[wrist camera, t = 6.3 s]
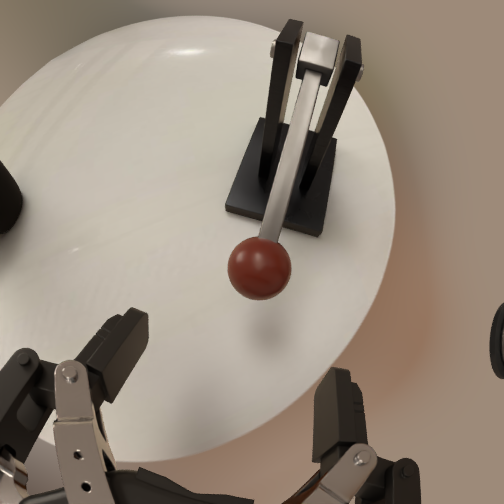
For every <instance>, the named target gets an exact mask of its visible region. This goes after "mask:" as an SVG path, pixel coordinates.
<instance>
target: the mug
mask: <svg viewBox="0 0 504 504" xmlns="http://www.w3.org/2000/svg"><path fill="white" fill-rule="evenodd" d="M21 206H22V195H21V192H20V189H19V187H18V185H17V183H16V182H15V180H14V178H13V177H12V176H11V174H10V173H9V171H8V170H7V169H6V167H5V166H4V165H3V163H2V162H1V161H0V234H3V233H5V232H7V231H8V230H9V229H10V228H11V227H12V226H13V224H14V223H15V221H16V220H17V218H18V216H19V213H20V210H21Z"/></svg>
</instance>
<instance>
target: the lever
mask: <svg viewBox="0 0 504 504" xmlns="http://www.w3.org/2000/svg"><path fill="white" fill-rule="evenodd" d="M338 47H339V40H336V39H332V38H329V37H326V36H322V35H319V34H315V33H311V32H307V33H306V35H305V38H304V42H303V45H302V48H301V51H300V55H299V58H298V63H297V70H296V76H295V77H296V78H297V79H301V80H302V83H301V87H300V90H299V94H298V97H297V101H296V104H295V108H294V112H293V115H292V119H291V122H290V126H289V129H288V133H287V136H286V140H285V144H284V147H283V151H282V154H281V158H280V161H279V165H278V168H277V172H276V175H275V179H274V183H273V186H272V190H271V193H270V197H269V200H268V204H267V207H266V211H265V214H264V218H263V221H262V225H261V228H260V232H259V236H258V237H251V238H248V239H246V240H244V241H242V242H241V243H240V244H238V245H237V246H236V247H235V249H234V250H233V252H232V253H231V255H230V258H229V261H228V276H229V279H230V282H231V284H232V285H233V287H234V288H235V289H236V291H237V292H239V293H240V294H241V295H243V296H244V297H246V298H249V299H252V300H267V299H270V298H273V297H275V296H276V295H278V294H279V293H280V292H282V290H283V289H284V288H285V287H286V286H287V284H288V282H289V279H290V276H291V260H290V257H289V255H288V253H287V251H286V250H285V248H284V247H283V246H282V245H281V244H280V243H278V239H279V236H280V232H281V229H282V225H283V222H284V218H285V215H286V211H287V208H288V204H289V201H290V197H291V193H292V190H293V186H294V182H295V179H296V175H297V171H298V168H299V164H300V160H301V157H302V153H303V149H304V145H305V142H306V138H307V134H308V130H309V126H310V122H311V119H312V115H313V111H314V107H315V103H316V99H317V95H318V91H319V87H320V85H322V86H325V87H327V85H328V83H329V80H330V78H331V75H332V73H333V70H334V66H335V61H336V57H337V52H338Z"/></svg>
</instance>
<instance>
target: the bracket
mask: <svg viewBox="0 0 504 504" xmlns="http://www.w3.org/2000/svg"><path fill="white" fill-rule="evenodd" d="M302 28H303V22H301V21H297V20H292V19H289V20H288V22H287V23H286V25H285V27H284V28H283V30H282V31H281V33H280V35H279V36H278V38H277V39H276V40H274V41H273V43H272V46H271V50H270V57H271V58H273V64H272V72H271V80H270V87H269V95H268V102H267V110H266V118H261V117H260V118H259V120H258V123H257V125H256V128H255V130H254V132H253V135H252V137H251V140H250V142H249V145H248V147H247V150H246V152H245V155H244V157H243V160H242V162H241V165H240V167H239V170H238V172H237V175H236V177H235V180H234V182H233V185H232V188H231V190H230V193H229V195H228V198H227V201H226V203H225V208H226V211H228V212H232V213H236V214H239V215H243V216H246V217H250V218H254V219H257V220H261V221H263V218H264V214H265V211H266V207H267V204H268V200H269V197H270V193H271V190H272V186H273V183H274V179H275V175H276V172H277V168H278V165H279V161H280V158H281V154H282V151H283V147H284V144H285V140H286V136H287V133H288V129H289V126H290V125H289V124H285V123H283V122H284V117H285V112H286V107H287V102H288V97H289V92H290V87H291V82H292V78H293V73H294V68H295V63H296V58H297V53H298V48H299V43H300V38H301V33H302ZM363 70H364V65H363V64H362V57H361V41H360V39H359V38H356V37H353V36H350V35H347V36H346V39H345V42H344V45H343V48H342V51H341V54H340V57H339V61H338V63H337V66H336V69H335V72H334V75H333V78H332V81H331V84H330V87H329V90H328V93H327V96H326V99H325V102H324V105H323V108H322V111H321V114H320V117H319V120H318V123H317V126H316V129H315V132H314V131H310V130H308V134H307V138H306V142H305V145H304V149H303V153H302V157H301V160H300V164H299V168H298V171H297V175H296V179H295V182H294V186H293V190H292V193H291V197H290V201H289V204H288V208H287V211H286V215H285V218H284V222H283V225H282V227H285V228H289V229H292V230H295V231H299V232H302V233H305V234H309V235H312V236H315V237H319V235H320V234H321V233H322V229H323V224H324V219H325V213H326V208H327V202H328V196H329V190H330V184H331V178H332V172H333V165H334V158H335V151H336V144H337V139H335V138H332V136H333V134H334V132H335V129H336V127H337V125H338V122H339V120H340V118H341V115H342V113H343V110H344V108H345V106H346V103H347V101H348V98H349V96H350V94H351V91H352V89H353V86H354V84H355V81H357V82H359V81H360V79H361V77H362V74H363Z"/></svg>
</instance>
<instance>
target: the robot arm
mask: <svg viewBox="0 0 504 504" xmlns="http://www.w3.org/2000/svg"><path fill="white" fill-rule="evenodd" d="M148 339H149V331H148V314H147V313H145V312H143V311H140V310H138V309H135V308H133V307H131V308H130V309H129V310H128V311H127V312H126V313H125V314H124V316H121V315H119V314H117V315H115V316H113V317H111V318H110V319H108V320H107V321H106V322H105V323H104V324H103V326H102V327H101V329H99V330H98V332H97V333H96V335H94V336H93V338H92V339H91V340H90V341H89V342H88V344H87V345H86V346H85V347H84V348H83V350H82V351H81V352H80V353H79V355H78V356H77V357H76V358H75V359H74V360H67V361H64V362H62V363H60V364H55V363H51V362H47V361H43V360H40V359H39V357H38V355H37V353H36V352H35V351H34V350H32V349H30V348H22V349H19V350H17V351H16V352H15V353H14V354H13V355H12V357H11V358H10V359H9V360H8V362H7V363H6V364H5V365H4V367H3V368H2V369H1V371H0V504H254V500H252V499H246V498H239V497H235V496H230V495H221V494H220V495H219V494H197V493H193V492H191V491H189V490H187V489H185V488H183V487H182V486H180V485H178V484H176V483H175V482H173V481H171V480H170V479H168V478H166V477H164V476H161V475H158V474H156V473H153V472H151V471H148V470H146V469H143V468H141V467H139V469H138V471H134V470H118V469H117V466H116V462H115V459H114V456H113V454H112V451H111V449H110V446H109V443H108V439H107V435H106V431H105V426H104V422H103V417H102V412H101V408H100V406H101V405H102V403H103V401H104V400H105V401H107V402H109V403H111V404H112V403H113V401H114V400H115V398H116V396H117V395H118V393H119V391H120V390H121V388H122V386H123V385H124V383H125V381H126V380H127V378H128V376H129V375H130V373H131V372H132V370H133V368H134V367H135V365H136V363H137V362H138V360H139V359H140V357H141V355H142V354H143V352H144V351H145V349H146V346H147V343H148ZM500 355H501V360H502V363H503V365H504V320H503V323H502V327H501V333H500ZM54 409H56V414H57V419H56V420H55V421H54V422H53V431H54V439H55V445H56V451H57V457H58V462H59V467H60V472H61V477H62V481H63V485H64V487H62V488H59V489H55V490H52V491H48V492H44V493H40V494H36V495H31V496H29V495H28V493H27V489H26V483H27V481H28V474H27V470H26V468H25V466H24V463H25V461H26V459H27V457H28V455H29V453H30V451H31V449H32V447H33V445H34V443H35V441H36V439H37V438H38V436H39V434H40V432H41V430H42V429H43V427H44V425H45V423H46V422H47V420H48V418H49V416H50V415H51V413H52V411H53V410H54ZM312 462H314V463H321V466H320V469H319V470H318V471H317V472H316V473H315V474H314V475H313V476H312V477H311V478H310V479H309V480H308V481H307V482H306V483H305V484H304V485H303V486H302V487H301V488H300V489H299V490H298V491H297V492H296V493H295V494H294V495H292V496H291V497H290V498H289V499H287V500H286V501H284V502H283V503H282V504H349V502H350V501H351V499H352V498H353V497H354V496H355V497H356V498H355V504H421V489H420V474H419V468H418V465H417V464H416V462H414V461H413V460H412V459H409V458H403V459H400V460H398V461H397V462H393V461H389V460H386V459H383V458H380V457H378V456H377V454H376V452H375V451H374V449H373V448H372V447H370V446H369V445H368V441H367V432H366V421H365V413H364V406H363V397H362V392H361V390H360V388H359V387H358V385H357V383H353V382H351V376H350V371H349V370H347V369H342V368H336V367H331V368H330V370H329V371H328V373H327V374H326V375H325V377H324V378H323V380H322V381H321V383H320V384H319V386H318V387H317V389H316V392H315V396H314V429H313V455H312Z"/></svg>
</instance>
